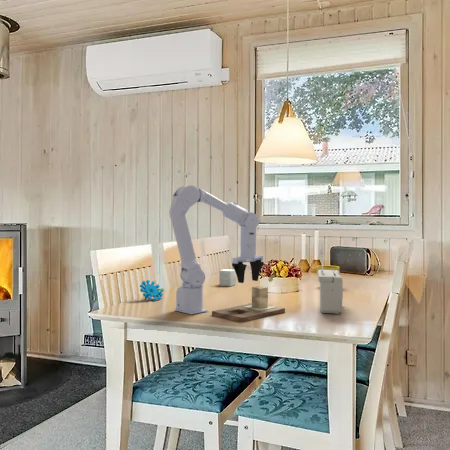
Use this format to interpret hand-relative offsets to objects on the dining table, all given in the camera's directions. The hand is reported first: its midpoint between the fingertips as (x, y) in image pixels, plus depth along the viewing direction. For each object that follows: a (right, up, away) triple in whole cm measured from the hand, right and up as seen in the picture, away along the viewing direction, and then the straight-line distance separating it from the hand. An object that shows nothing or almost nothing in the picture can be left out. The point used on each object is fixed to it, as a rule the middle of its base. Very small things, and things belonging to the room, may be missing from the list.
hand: (248, 281), depth 179 cm
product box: (-7, -8, +52) cm, 53 cm away
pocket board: (0, -10, -11) cm, 15 cm away
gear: (-37, -9, +14) cm, 41 cm away
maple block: (+4, -8, -7) cm, 11 cm away
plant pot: (+39, -8, +47) cm, 62 cm away
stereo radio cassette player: (+30, -10, -1) cm, 31 cm away
